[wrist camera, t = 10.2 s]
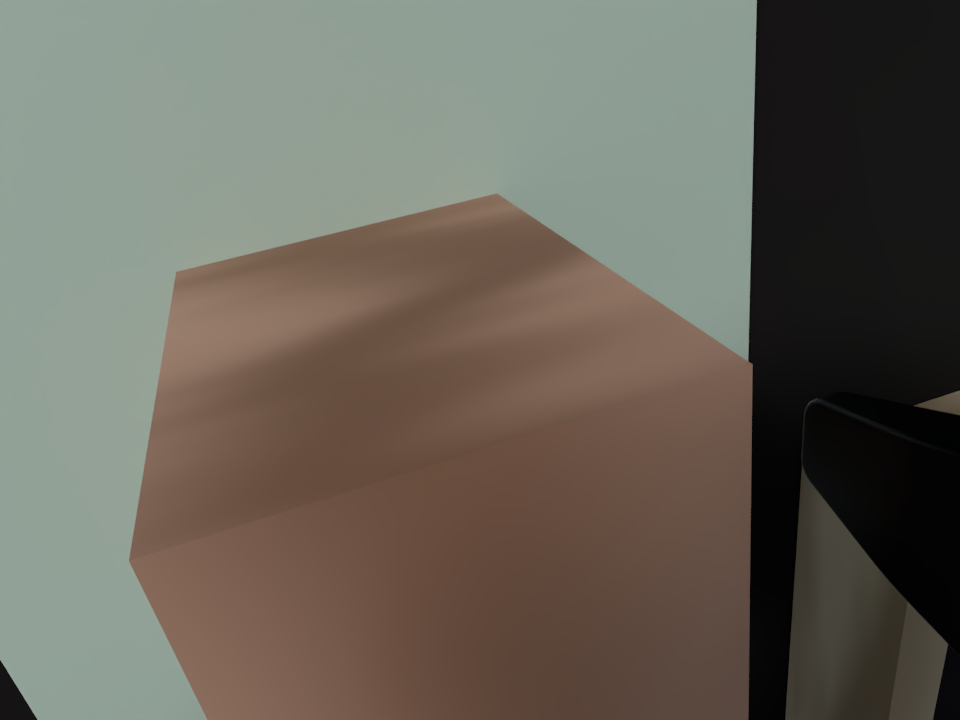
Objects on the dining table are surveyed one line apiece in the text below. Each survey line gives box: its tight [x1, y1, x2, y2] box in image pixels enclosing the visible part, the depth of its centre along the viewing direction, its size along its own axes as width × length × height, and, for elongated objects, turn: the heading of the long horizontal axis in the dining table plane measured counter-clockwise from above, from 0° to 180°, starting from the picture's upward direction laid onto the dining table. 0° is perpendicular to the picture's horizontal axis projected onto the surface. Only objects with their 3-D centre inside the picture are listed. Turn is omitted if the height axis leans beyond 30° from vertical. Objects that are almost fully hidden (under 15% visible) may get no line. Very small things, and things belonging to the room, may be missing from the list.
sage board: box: [0, 0, 757, 720], centre depth 12 cm, size 13×13×1 cm
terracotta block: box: [129, 193, 753, 720], centre depth 9 cm, size 4×5×6 cm
